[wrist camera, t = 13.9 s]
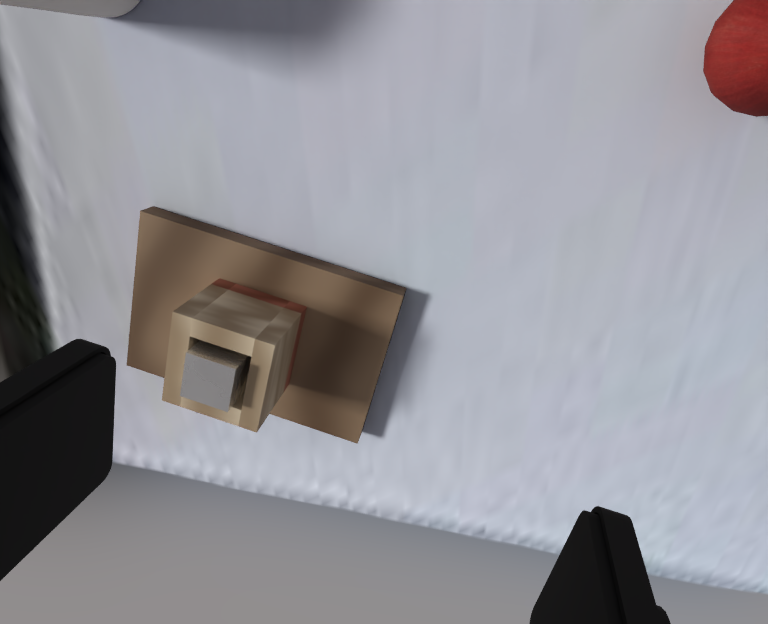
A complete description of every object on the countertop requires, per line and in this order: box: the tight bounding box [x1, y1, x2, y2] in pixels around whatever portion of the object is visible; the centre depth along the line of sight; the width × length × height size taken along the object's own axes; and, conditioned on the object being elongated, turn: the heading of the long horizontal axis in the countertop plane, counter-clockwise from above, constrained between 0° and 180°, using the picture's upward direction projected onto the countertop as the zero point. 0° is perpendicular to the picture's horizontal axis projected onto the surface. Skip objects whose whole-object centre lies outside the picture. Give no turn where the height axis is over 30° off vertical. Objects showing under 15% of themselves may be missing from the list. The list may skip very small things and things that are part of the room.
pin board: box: [127, 207, 406, 443], centre depth 39 cm, size 18×12×2 cm, turn 75°
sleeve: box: [162, 278, 307, 432], centre depth 36 cm, size 6×6×6 cm
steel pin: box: [180, 340, 251, 412], centre depth 35 cm, size 3×3×7 cm
